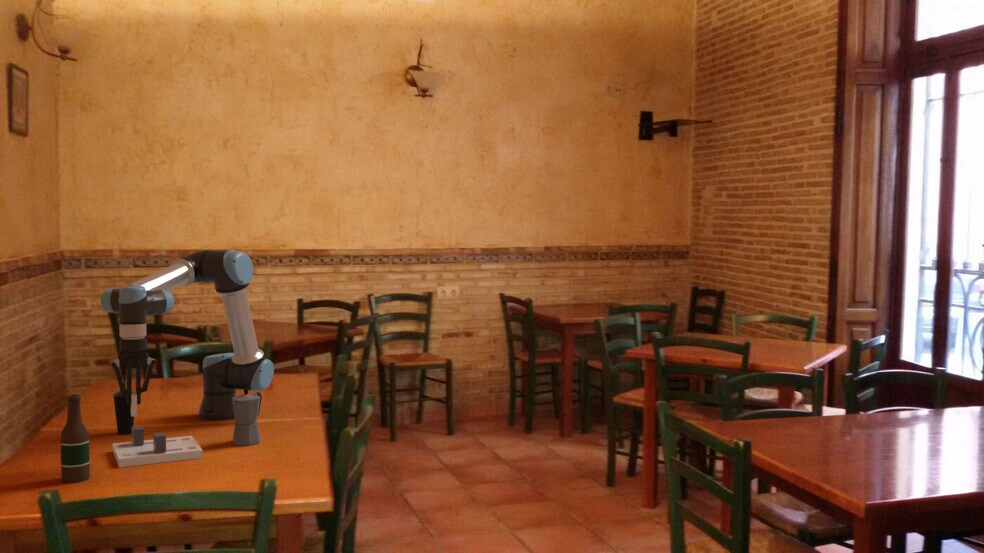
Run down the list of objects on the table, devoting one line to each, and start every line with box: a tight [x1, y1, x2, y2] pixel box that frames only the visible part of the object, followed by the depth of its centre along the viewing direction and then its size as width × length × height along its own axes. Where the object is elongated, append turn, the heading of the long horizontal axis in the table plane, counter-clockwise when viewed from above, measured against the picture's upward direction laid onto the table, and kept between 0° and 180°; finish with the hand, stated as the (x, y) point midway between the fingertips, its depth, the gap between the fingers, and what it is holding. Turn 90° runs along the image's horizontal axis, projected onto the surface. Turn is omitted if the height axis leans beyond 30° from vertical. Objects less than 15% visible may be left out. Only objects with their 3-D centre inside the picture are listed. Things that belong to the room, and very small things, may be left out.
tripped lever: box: [152, 431, 167, 453], centre depth 275 cm, size 3×5×5 cm, turn 28°
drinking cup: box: [112, 374, 136, 436], centre depth 307 cm, size 8×8×20 cm
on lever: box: [131, 425, 145, 446], centre depth 283 cm, size 3×5×5 cm, turn 27°
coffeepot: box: [231, 389, 263, 447], centre depth 297 cm, size 15×9×18 cm, turn 162°
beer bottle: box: [60, 393, 91, 484], centre depth 254 cm, size 8×8×24 cm
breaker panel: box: [112, 435, 204, 469], centre depth 281 cm, size 24×20×3 cm
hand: (133, 415), depth 271 cm, fingers closed
